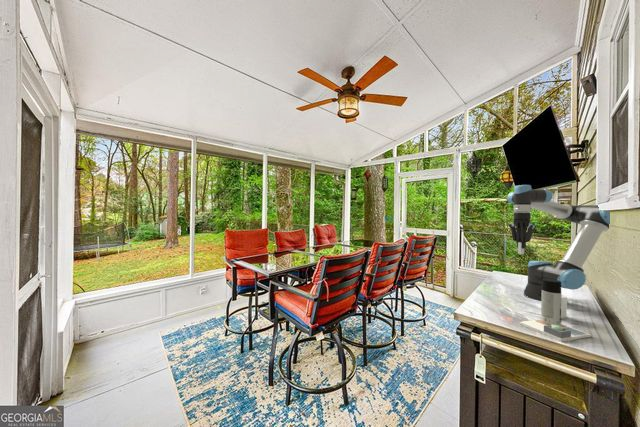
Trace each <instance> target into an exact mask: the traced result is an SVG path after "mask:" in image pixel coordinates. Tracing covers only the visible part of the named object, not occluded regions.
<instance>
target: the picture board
mask: <svg viewBox="0 0 640 427" xmlns="http://www.w3.org/2000/svg"><path fill="white" fill-rule="evenodd" d="M518 323H519V325H520V326H524V327H526V328H528V329H531V330H532V331H535V332H538V333H539V334H543V335H544V336H547V337H549V338H552V339H554V340H557V341H559V342H567V341H574V340H579V339H584V338H586V339H587V338H591V337H592V334H591V333H588V332H585V331H582V330H580V329H577V328H574V327H573V326H572V327H571V326H570V325H567V324H564V323H561V325H560V326H561V327H563V331H558V330H556V329H553V328H551V325H548V324H545V323H543V322H542V321H541V318H539V319H533V320H523V321H519V322H518ZM553 325H554V324H553Z"/></svg>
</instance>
